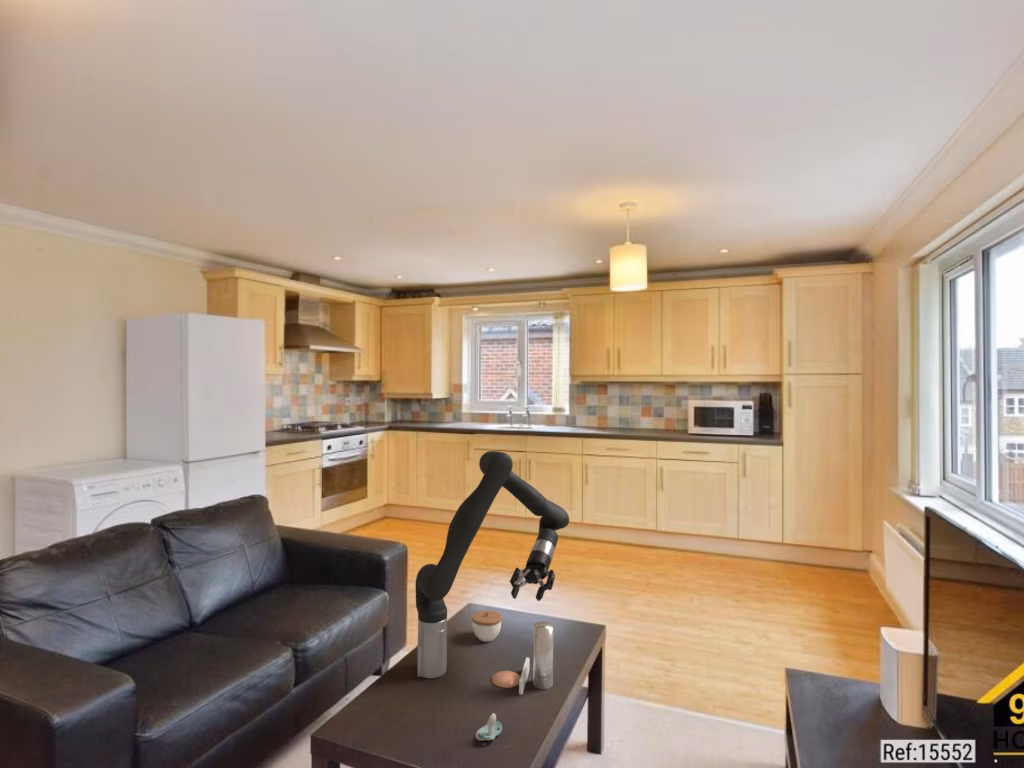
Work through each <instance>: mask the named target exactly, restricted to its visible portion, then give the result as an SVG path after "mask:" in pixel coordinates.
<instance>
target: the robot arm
mask: <svg viewBox="0 0 1024 768" xmlns="http://www.w3.org/2000/svg"><path fill="white" fill-rule="evenodd" d="M513 464H514V462H513V459H512V457H511V456H510V455H509V454H508V453H506V452H501V451H495V450H490V451H486V452H484V453H483V454H482V455H481V456H480V459H479V463H478V466H479V469H480V471H481V473H482V474H483V476H482V477H481V480H480V481H479V484H477V487H476V488H475V489H474V490H473V492H471V493H470V494H469V495H468V497H466V498H465V499H464V501H462V502H461V504H460V505H459V506H458V508H457V510H456V511H455V514H454V516H453V517H452V520H451V521H450V523H449V526H448V529H447V536H446V542H445V546H444V550H443V552H442V555H441V557H440V559H439V561H438V563H437V564H434V563H428V564H425V565H423V566H422V567H421V568H420V569H419V570H418V572H417V575H416V576H415V577H416V578H415V607H416V611H417V618H418V619H417V656H416V657H417V667H416V669H417V670H416V671H417V673H416V675H417V676H416V677H417V678H418V677H419V678H420V677H422V678H425V679H435V678H439V677H442V676H444V675H445V674H446V672H447V663H448V661H447V659H448V656H447V655H448V654H447V653H448V652H447V651H448V649H447V648H448V645H447V644H448V607H447V605H446V603H445V600H444V599H445V597H446V596H447V595H448V594H449V592H450V591H451V589H452V588H453V587H452V586H453V584H454V582H455V580H456V577H457V574H458V571H459V569H460V567H461V565H462V563H463V560H464V559H465V556H466V555H467V553H468V550H469V549H470V546H471V545H472V542H473V540H474V539H475V537H476V535H477V533H478V532H479V529H480V528H481V526H482V524H483V522H484V520H485V518H486V516H487V514H488V512H489V510H490V508H491V507H492V504H493V503H494V500H495V499H496V496H497V495H498V493H499V492H500V490H501V489H502V488H504V489H505V490H507V491H508V492H509V493H510V494H511V495H512V496H513V497H514V498H516V499H517V500H518V502H519V503H521V504H522V505H523V506H524V507H525V508H526V509H527V510H529V512H531V513H532V514H533V515H534V516H536V517H540V519H539V525H538V535H537V538H536V539H535V542H534V544H533V545H532V547H531V550H530V553H529V555H528V557H527V560H526V563H525V567H524V568H523V569H520V568H519V567H516V568H514V571H513V574H512V576H511V578H509V583H510V585H511V587H512V589H511V591H510V594H511V597H512V599H514V600H515V599H517V598H518V595H519V594H518V593H519V592H520V589H521V588H522V587H525V586H526V585H528V584H529V585H531V584H533V585H537V584H539V587H538V589H537V592H536V594H535V599H536V601H538V602H540V601H541V600H542V599H543V598H544V596H545V595H544V594H545V592H546V591H547V590H548V591H551V590H552V589H553V587H554V582H555V578H556V574H555V571H554V570H553V569H550V566H551V563H552V561H553V558H554V555H555V550H556V547H557V545H558V541H559V535H558V533H557V531H559V530H562V529H564V528H566V527H567V526H569V523H570V516H569V514H568V512H567V511H566V510H565V509H564V508H563V507H561V506H560V505H558V504H556V503H555V502H554V501H553V502H552V501H550V500H548V499H547V498H546V497H545V496H544V495H543V494H542V493H541V492H539V490H538V489H536V488H535V487H534V486H533V485H531V484H530V483H528V482H527V481H525V480H524V479H522V478H521V477H520V476H518V475H517V474H516V473H515V472H513ZM546 577H547V579H546ZM545 579H546V582H545V583H544V580H545Z"/></svg>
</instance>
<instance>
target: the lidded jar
mask: <svg viewBox="0 0 1024 768" xmlns="http://www.w3.org/2000/svg"><path fill="white" fill-rule="evenodd" d="M502 620H503V616H502V614H501V613H499V612H498V611H495V610H489V609H488V610H487V609H486V610H480V611H477V612H474V613H473V615H472V616H471V621H472V625H471V626H472V630H473V633H474V635H475V637H476V638H478V640H479V641H481V642H485V643H488V642H489V643H490V642H492V641H494V640H495V639H496V638H497V636H498V635H499V634H500V631H501V628H502Z"/></svg>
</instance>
